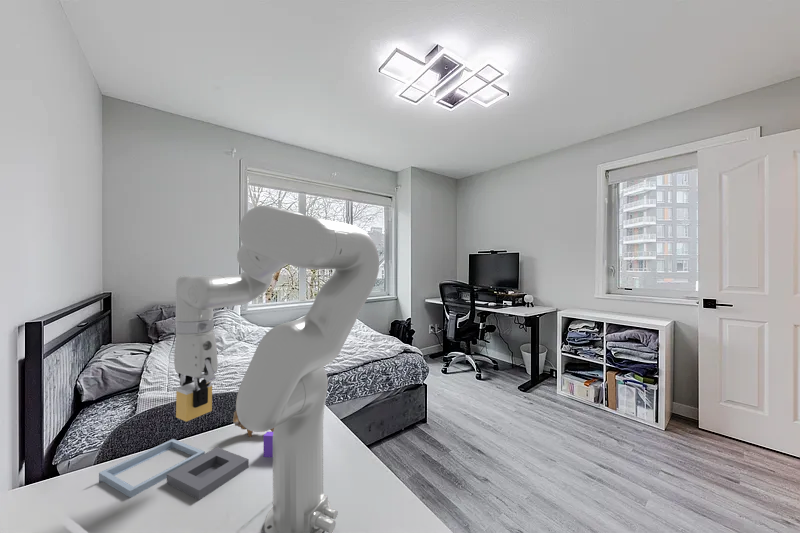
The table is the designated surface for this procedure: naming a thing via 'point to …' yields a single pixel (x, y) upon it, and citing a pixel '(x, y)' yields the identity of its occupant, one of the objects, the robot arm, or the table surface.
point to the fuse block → (207, 472)
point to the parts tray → (126, 488)
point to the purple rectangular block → (268, 444)
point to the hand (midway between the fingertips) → (194, 402)
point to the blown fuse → (190, 403)
